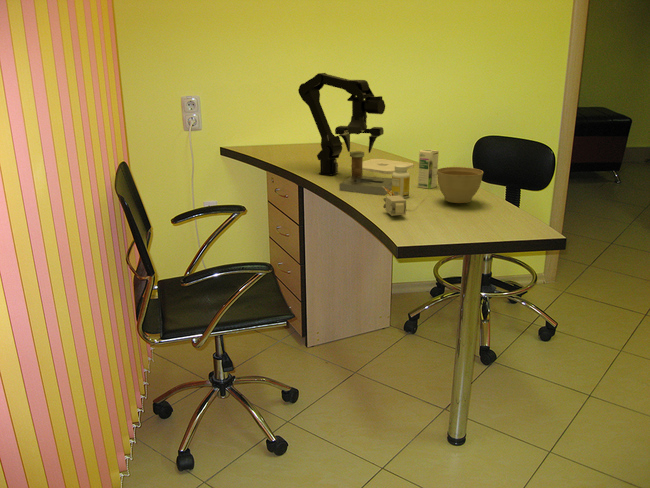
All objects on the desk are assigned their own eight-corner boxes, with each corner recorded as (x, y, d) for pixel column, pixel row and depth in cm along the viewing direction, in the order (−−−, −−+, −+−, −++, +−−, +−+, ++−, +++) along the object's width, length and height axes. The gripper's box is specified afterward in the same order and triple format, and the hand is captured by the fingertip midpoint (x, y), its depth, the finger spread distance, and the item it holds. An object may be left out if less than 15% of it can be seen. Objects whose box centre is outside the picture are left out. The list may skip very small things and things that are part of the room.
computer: (390, 178, 260) (390, 171, 259) (347, 171, 272) (347, 165, 271) (415, 169, 276) (416, 163, 275) (374, 163, 289) (374, 158, 288)
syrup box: (417, 187, 241) (418, 150, 237) (424, 184, 246) (426, 148, 241) (430, 189, 238) (432, 152, 233) (437, 186, 243) (439, 149, 238)
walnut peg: (347, 181, 252) (347, 153, 249) (352, 178, 258) (352, 150, 254) (361, 182, 250) (361, 154, 247) (365, 179, 256) (366, 151, 252)
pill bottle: (410, 195, 229) (411, 164, 225) (407, 199, 223) (408, 168, 220) (393, 194, 231) (394, 163, 227) (389, 198, 225) (390, 166, 222)
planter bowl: (490, 202, 219) (492, 172, 216) (457, 208, 211) (459, 177, 208) (458, 192, 232) (460, 164, 229) (426, 198, 224) (427, 169, 221)
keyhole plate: (339, 191, 236) (339, 183, 235) (352, 182, 250) (353, 175, 249) (384, 195, 229) (384, 187, 228) (395, 186, 243) (396, 178, 242)
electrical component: (370, 198, 224) (370, 185, 223) (386, 198, 226) (386, 184, 224) (391, 216, 202) (391, 201, 201) (408, 215, 203) (409, 200, 202)
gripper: (330, 114, 238) (330, 154, 243) (376, 115, 232) (376, 156, 237) (339, 111, 248) (339, 149, 253) (384, 112, 242) (383, 152, 247)
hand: (359, 152), depth 247 cm, fingers open, 8 cm apart
